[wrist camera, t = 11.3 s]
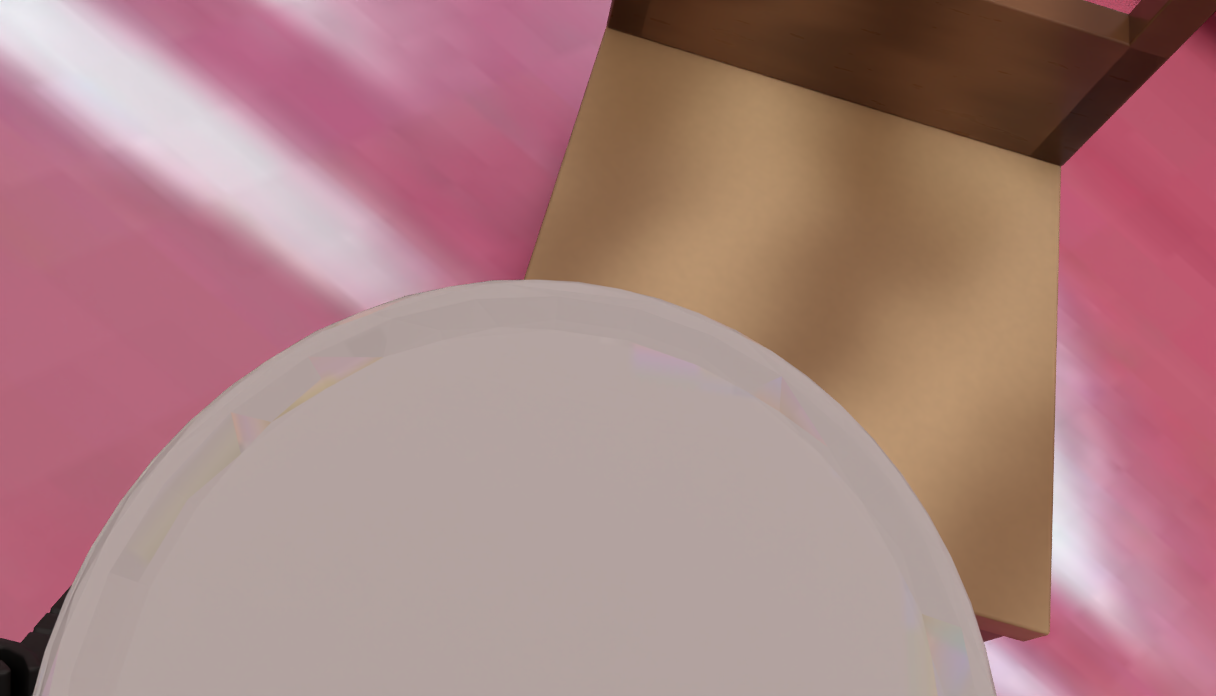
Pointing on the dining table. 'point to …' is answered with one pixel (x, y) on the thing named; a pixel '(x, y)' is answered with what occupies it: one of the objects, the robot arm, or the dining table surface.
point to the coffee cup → (520, 522)
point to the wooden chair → (868, 220)
